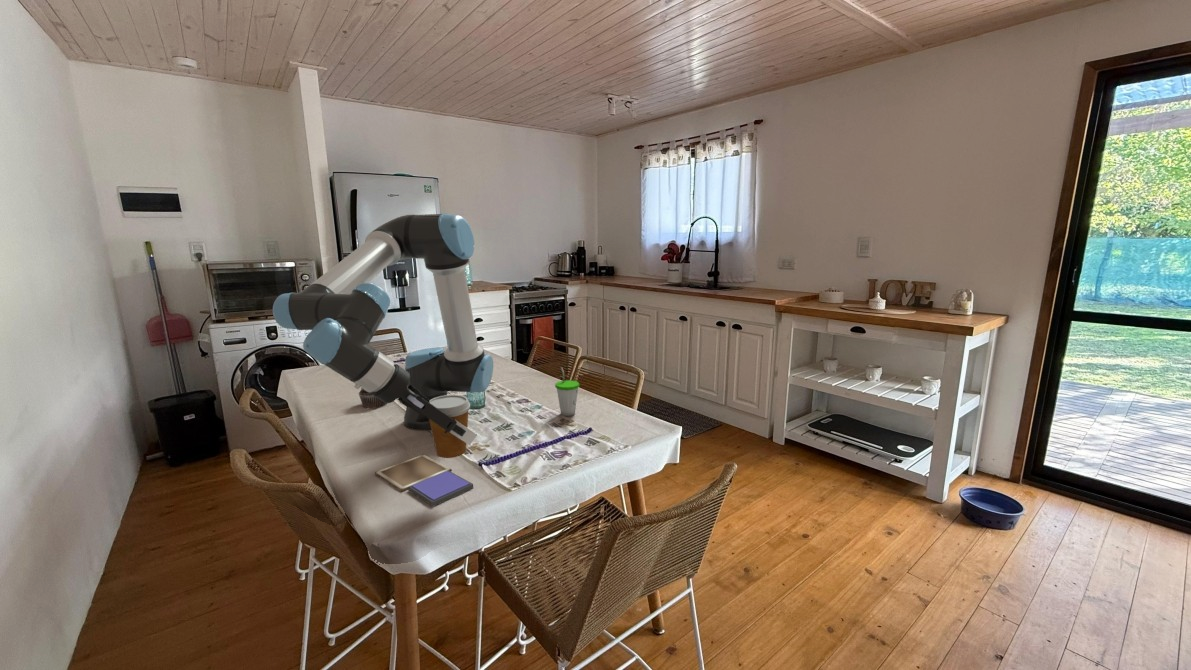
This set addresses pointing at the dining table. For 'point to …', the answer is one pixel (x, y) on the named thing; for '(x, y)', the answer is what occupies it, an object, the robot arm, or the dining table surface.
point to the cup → (567, 395)
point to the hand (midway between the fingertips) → (464, 432)
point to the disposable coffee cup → (456, 410)
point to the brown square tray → (411, 472)
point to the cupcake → (370, 400)
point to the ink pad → (440, 487)
